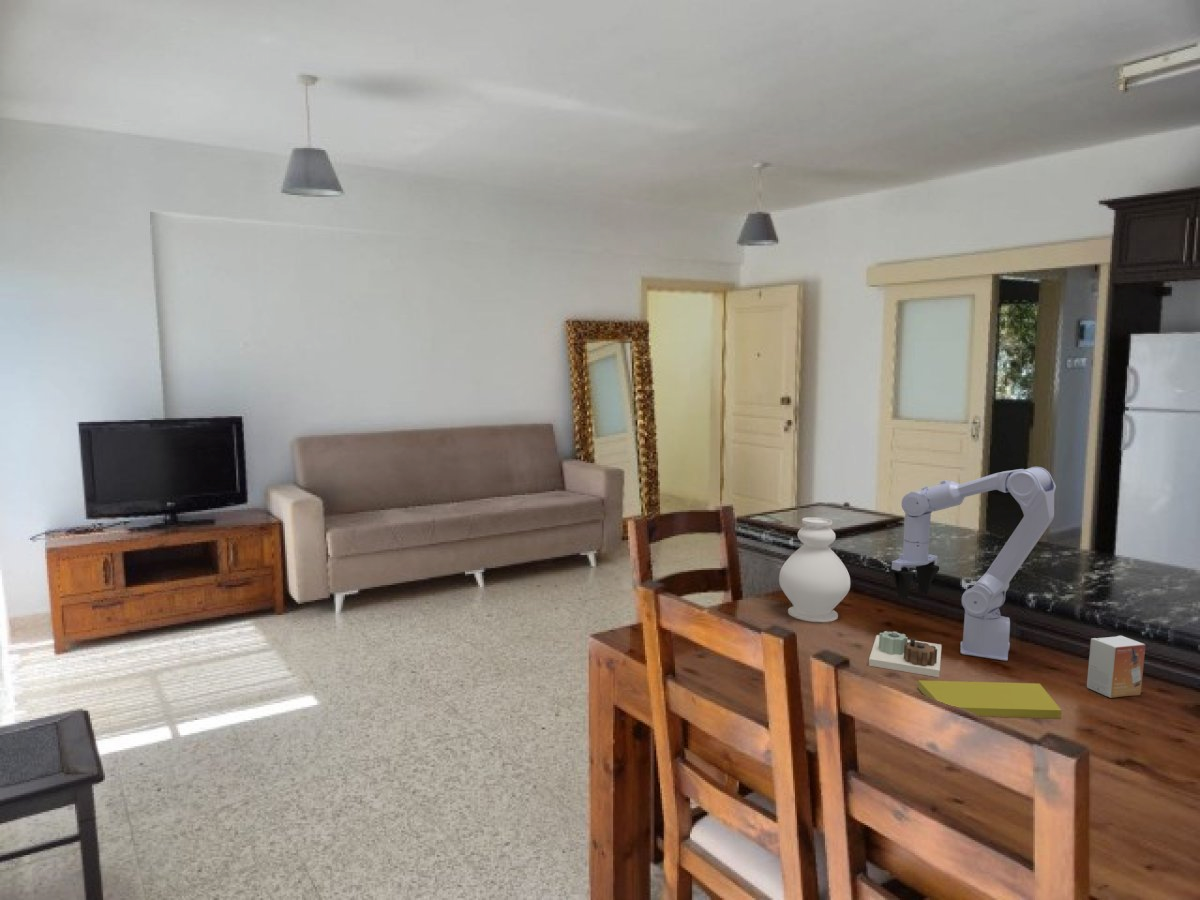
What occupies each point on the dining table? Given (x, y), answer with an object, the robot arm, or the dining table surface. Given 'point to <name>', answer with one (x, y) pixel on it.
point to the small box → (1116, 666)
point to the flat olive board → (994, 698)
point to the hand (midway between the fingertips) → (913, 595)
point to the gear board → (903, 660)
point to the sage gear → (892, 643)
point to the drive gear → (920, 653)
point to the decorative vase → (814, 574)
